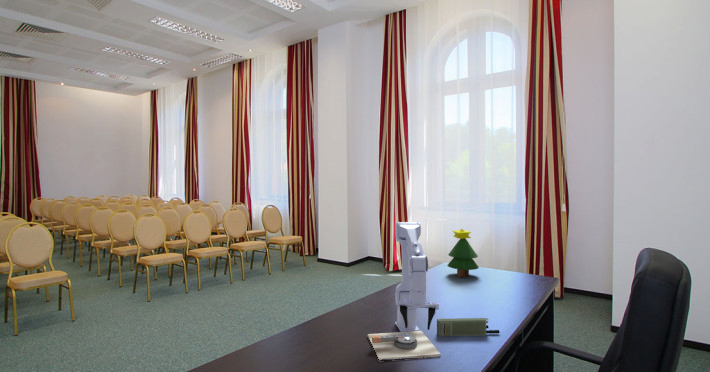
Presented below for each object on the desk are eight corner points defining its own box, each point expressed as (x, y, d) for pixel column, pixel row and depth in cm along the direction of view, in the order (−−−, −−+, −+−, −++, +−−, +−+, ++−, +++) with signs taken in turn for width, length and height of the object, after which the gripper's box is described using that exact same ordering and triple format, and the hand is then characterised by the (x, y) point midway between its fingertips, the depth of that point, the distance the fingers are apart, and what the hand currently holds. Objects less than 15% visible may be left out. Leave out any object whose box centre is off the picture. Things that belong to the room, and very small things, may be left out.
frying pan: (370, 337, 141) (370, 333, 141) (411, 335, 143) (411, 330, 143) (374, 346, 134) (374, 341, 134) (417, 343, 136) (417, 338, 136)
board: (367, 336, 148) (367, 330, 148) (421, 333, 152) (421, 327, 152) (379, 361, 128) (379, 354, 128) (440, 356, 132) (440, 349, 132)
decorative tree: (484, 279, 231) (484, 230, 230) (454, 280, 229) (454, 231, 228) (470, 271, 250) (470, 226, 249) (442, 272, 248) (443, 226, 247)
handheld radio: (436, 333, 152) (497, 332, 153) (438, 337, 148) (500, 336, 149) (436, 317, 151) (497, 316, 152) (438, 321, 148) (501, 320, 149)
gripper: (396, 291, 131) (395, 330, 131) (439, 294, 128) (438, 334, 128) (397, 285, 137) (397, 322, 138) (438, 288, 134) (438, 326, 135)
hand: (417, 327), depth 133 cm, fingers open, 7 cm apart
